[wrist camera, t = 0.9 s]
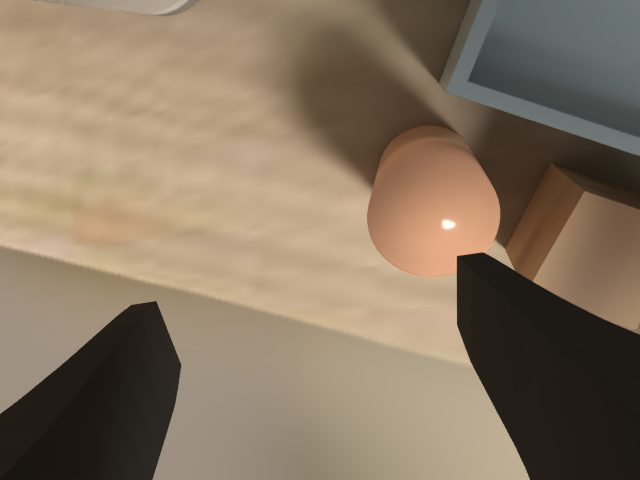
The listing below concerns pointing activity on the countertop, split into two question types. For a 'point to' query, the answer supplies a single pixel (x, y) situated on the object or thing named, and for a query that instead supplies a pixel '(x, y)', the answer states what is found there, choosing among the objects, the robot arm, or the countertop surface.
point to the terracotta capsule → (431, 202)
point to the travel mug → (134, 5)
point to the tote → (554, 64)
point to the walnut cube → (582, 244)
